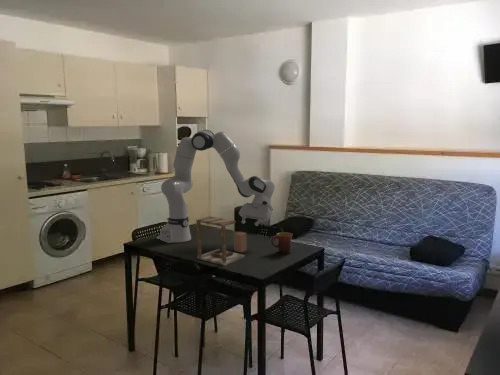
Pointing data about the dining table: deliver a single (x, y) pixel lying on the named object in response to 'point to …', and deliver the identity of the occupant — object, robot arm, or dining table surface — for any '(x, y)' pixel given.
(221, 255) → the dock
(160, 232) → the robot arm
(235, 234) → the block
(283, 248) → the mug
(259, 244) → the dining table surface
